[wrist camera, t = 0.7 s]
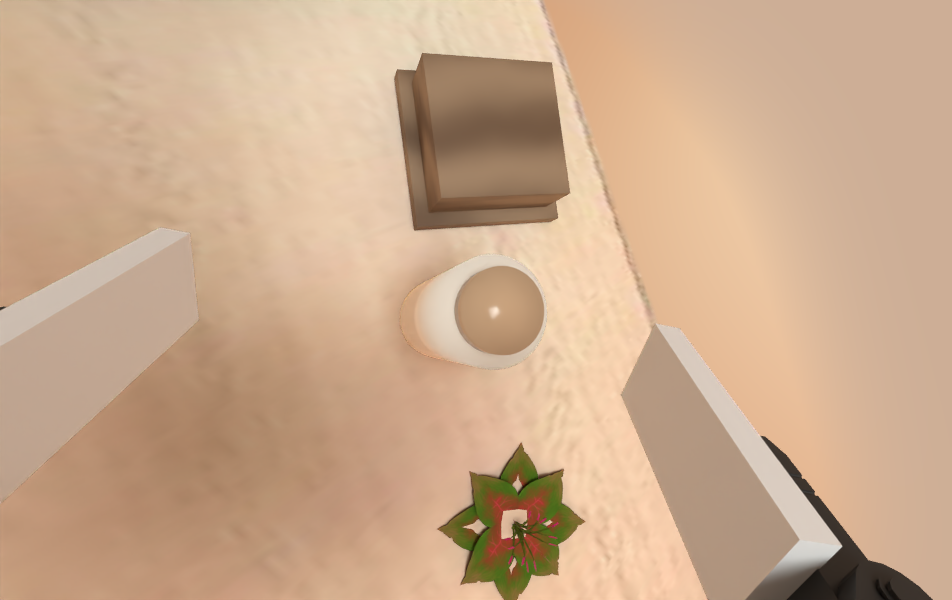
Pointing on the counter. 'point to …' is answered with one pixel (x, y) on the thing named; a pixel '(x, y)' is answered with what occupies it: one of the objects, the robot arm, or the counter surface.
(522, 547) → the lily flower
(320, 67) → the counter surface
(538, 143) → the pedestal
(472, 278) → the canister
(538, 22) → the counter surface
